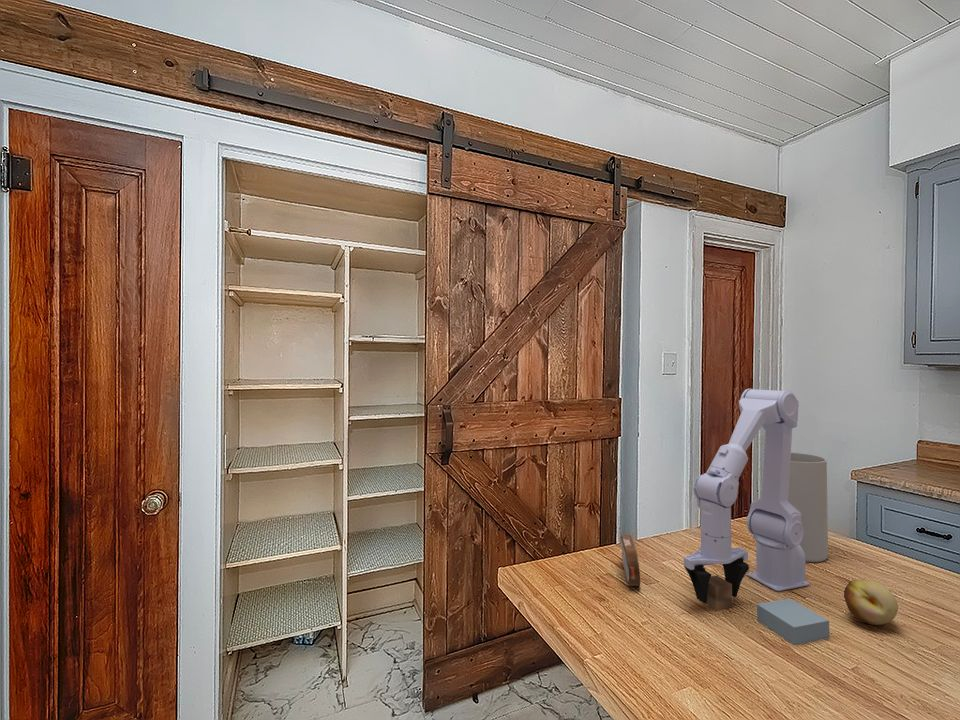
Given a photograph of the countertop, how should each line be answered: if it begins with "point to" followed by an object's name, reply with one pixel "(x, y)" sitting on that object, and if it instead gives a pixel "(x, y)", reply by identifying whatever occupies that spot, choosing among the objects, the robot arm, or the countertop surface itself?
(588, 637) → the countertop surface
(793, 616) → the base block
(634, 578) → the tin
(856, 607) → the fruit
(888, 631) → the countertop surface
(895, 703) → the countertop surface
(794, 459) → the cylinder vase
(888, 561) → the countertop surface
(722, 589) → the walnut block
